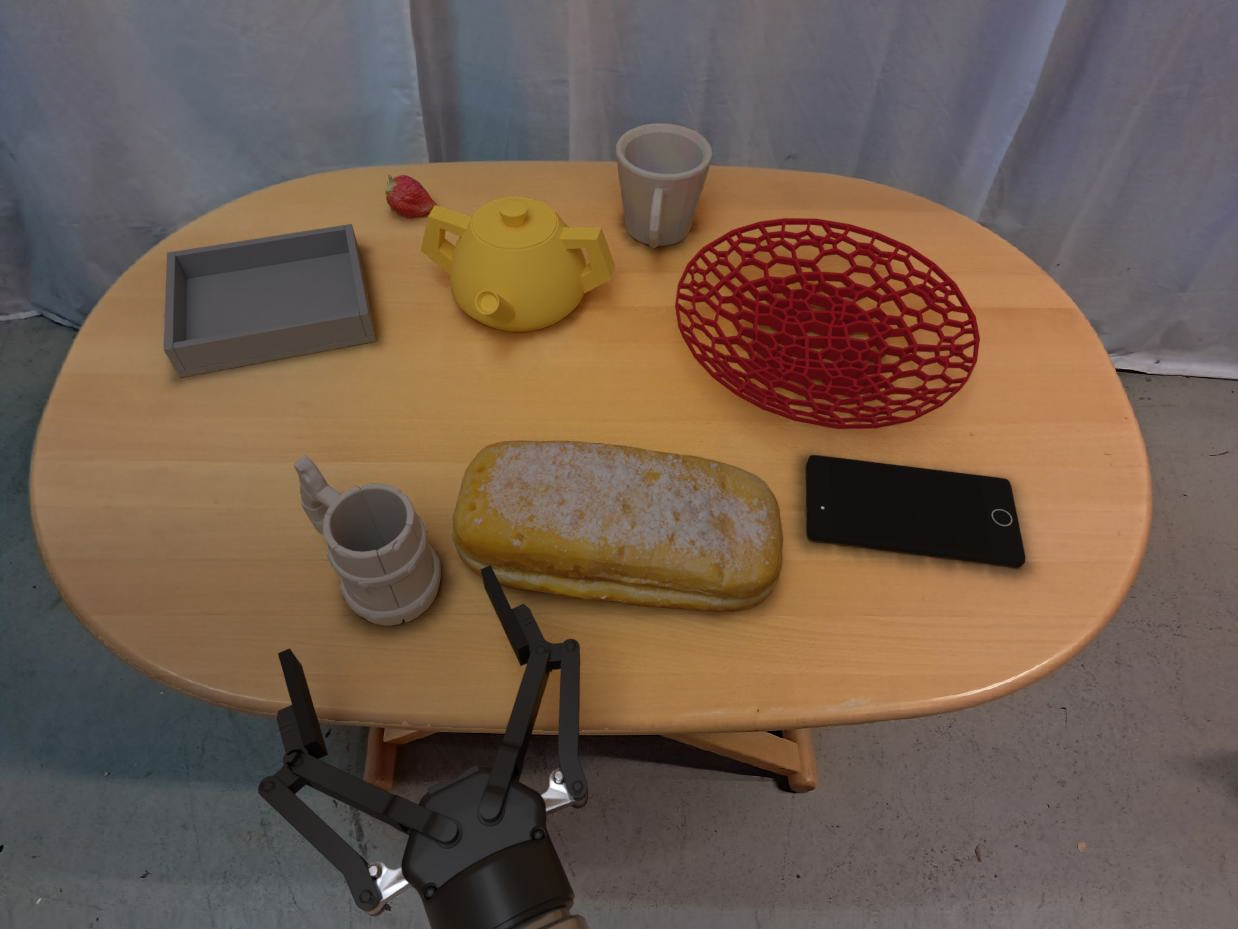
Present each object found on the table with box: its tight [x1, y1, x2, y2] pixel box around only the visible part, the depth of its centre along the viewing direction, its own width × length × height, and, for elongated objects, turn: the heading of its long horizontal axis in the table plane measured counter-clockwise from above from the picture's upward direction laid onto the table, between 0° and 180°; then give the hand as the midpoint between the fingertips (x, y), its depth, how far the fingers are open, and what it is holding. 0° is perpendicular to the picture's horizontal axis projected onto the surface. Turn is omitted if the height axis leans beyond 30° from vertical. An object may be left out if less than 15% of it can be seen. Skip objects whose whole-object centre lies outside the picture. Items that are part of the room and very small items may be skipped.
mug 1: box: [293, 454, 442, 627], centre depth 60 cm, size 8×12×12 cm, turn 55°
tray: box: [163, 223, 377, 378], centre depth 81 cm, size 19×15×4 cm
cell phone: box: [805, 454, 1026, 569], centre depth 70 cm, size 9×18×1 cm, turn 82°
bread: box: [451, 439, 784, 612], centre depth 64 cm, size 13×26×8 cm, turn 87°
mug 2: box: [615, 122, 714, 249], centre depth 88 cm, size 10×15×10 cm
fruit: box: [384, 173, 438, 218], centre depth 92 cm, size 4×6×5 cm
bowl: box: [674, 217, 981, 430], centre depth 80 cm, size 29×30×5 cm
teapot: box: [420, 196, 616, 333], centre depth 80 cm, size 20×18×11 cm
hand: (392, 616), depth 54 cm, fingers open, 13 cm apart
